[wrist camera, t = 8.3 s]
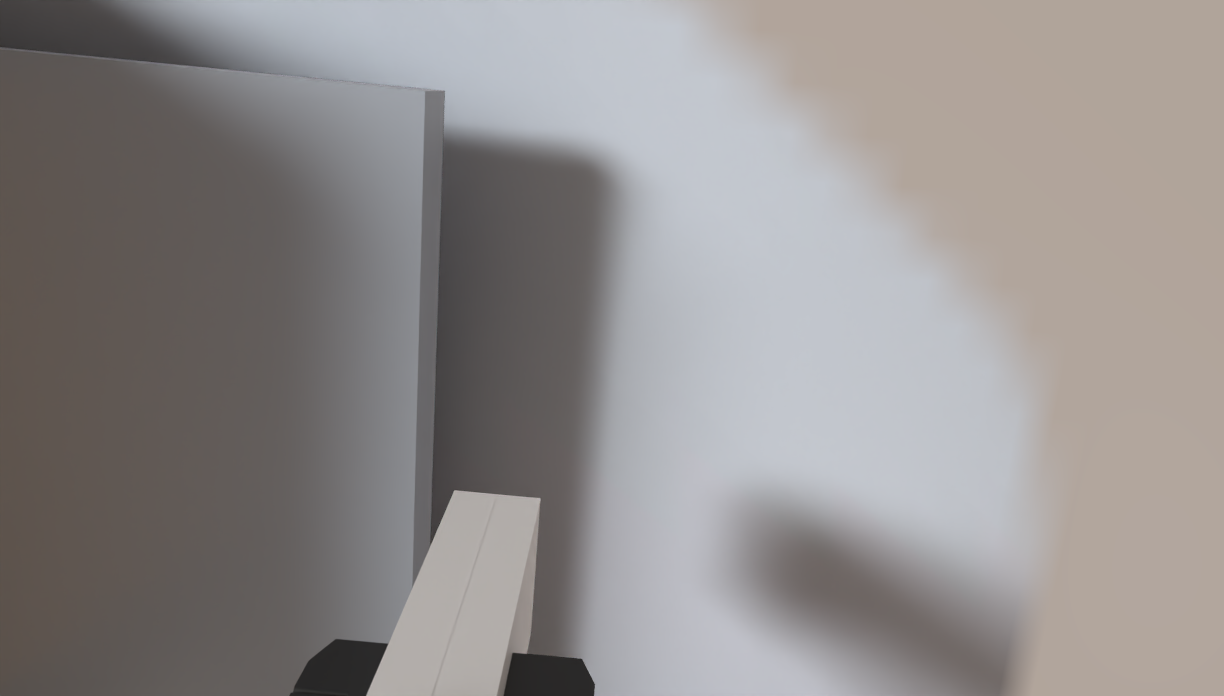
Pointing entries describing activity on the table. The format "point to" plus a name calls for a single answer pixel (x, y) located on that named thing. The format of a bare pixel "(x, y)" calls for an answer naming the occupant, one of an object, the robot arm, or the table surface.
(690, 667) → the table surface
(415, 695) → the robot arm
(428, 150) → the door
